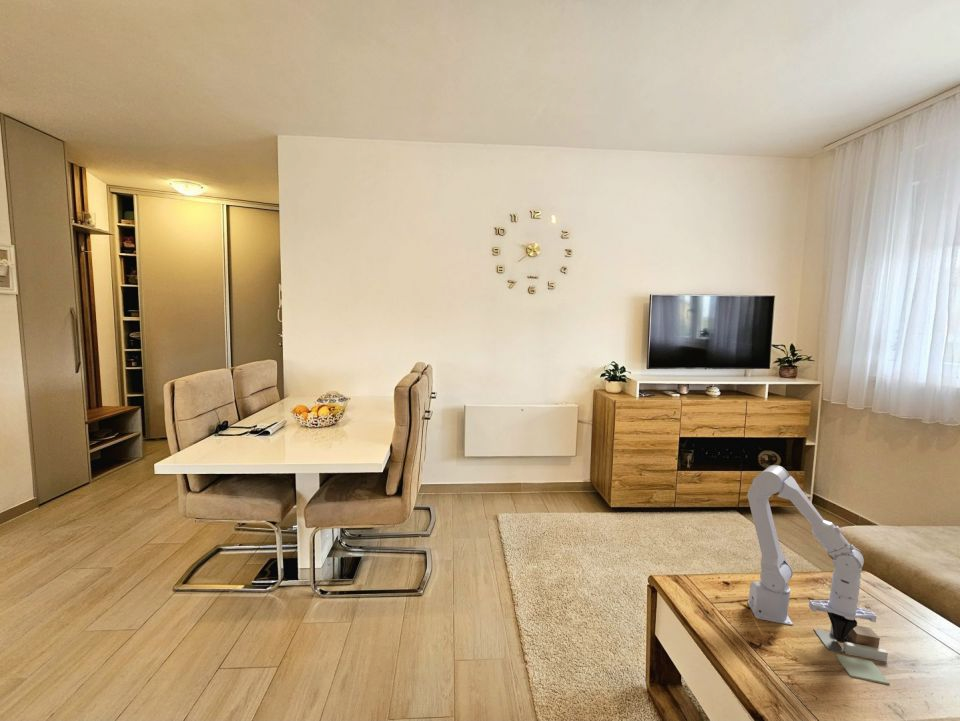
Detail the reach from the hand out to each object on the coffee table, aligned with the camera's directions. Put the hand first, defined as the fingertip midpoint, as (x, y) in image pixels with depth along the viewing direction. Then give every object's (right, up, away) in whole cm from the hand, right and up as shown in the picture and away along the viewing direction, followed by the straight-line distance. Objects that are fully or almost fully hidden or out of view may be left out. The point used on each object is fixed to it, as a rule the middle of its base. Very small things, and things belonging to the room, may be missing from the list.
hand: (838, 639), depth 118 cm
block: (+5, -2, -1) cm, 6 cm away
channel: (+2, -1, 0) cm, 3 cm away
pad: (-1, -2, -9) cm, 9 cm away
